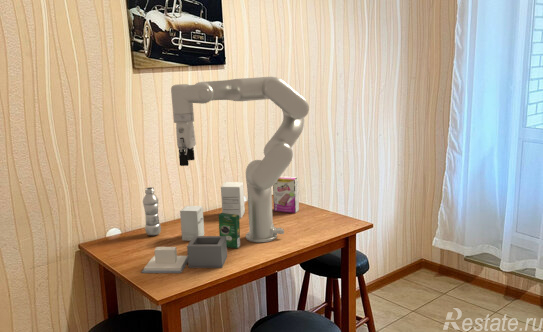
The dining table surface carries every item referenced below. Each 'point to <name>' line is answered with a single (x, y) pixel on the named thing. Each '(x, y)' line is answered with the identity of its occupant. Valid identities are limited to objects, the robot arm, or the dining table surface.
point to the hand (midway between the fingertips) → (187, 162)
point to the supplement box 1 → (192, 222)
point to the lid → (166, 260)
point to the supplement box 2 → (233, 198)
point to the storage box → (207, 252)
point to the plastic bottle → (151, 212)
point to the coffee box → (230, 229)
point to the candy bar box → (286, 194)
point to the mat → (166, 271)
